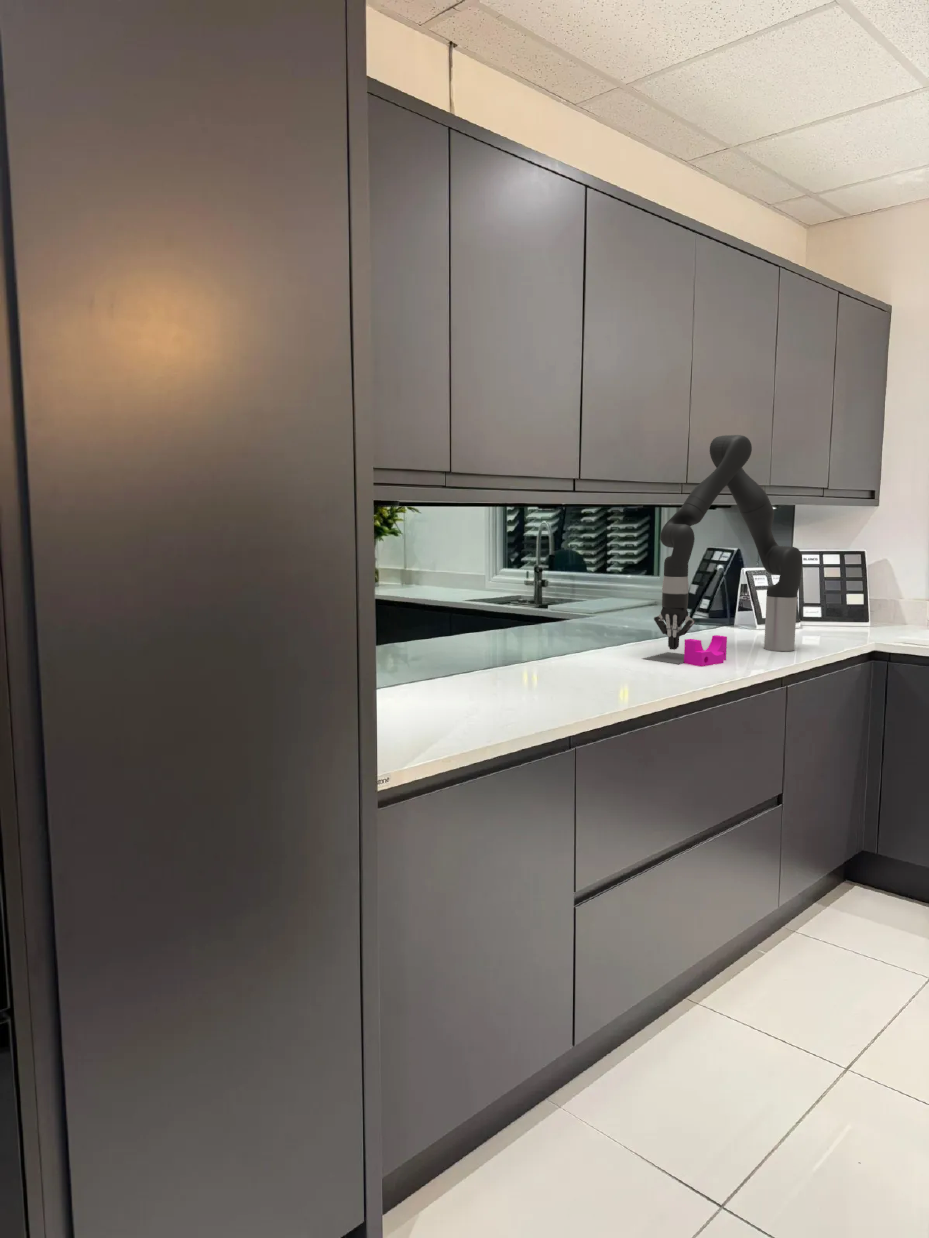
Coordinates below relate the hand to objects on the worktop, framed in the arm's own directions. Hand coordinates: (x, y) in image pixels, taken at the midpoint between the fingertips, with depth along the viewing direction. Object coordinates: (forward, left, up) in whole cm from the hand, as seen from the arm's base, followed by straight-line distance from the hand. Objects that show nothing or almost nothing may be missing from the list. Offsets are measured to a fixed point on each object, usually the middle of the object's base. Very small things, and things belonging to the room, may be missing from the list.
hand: (673, 649), depth 260 cm
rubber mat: (0, 0, -3) cm, 3 cm away
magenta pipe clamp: (-2, +11, -4) cm, 11 cm away
